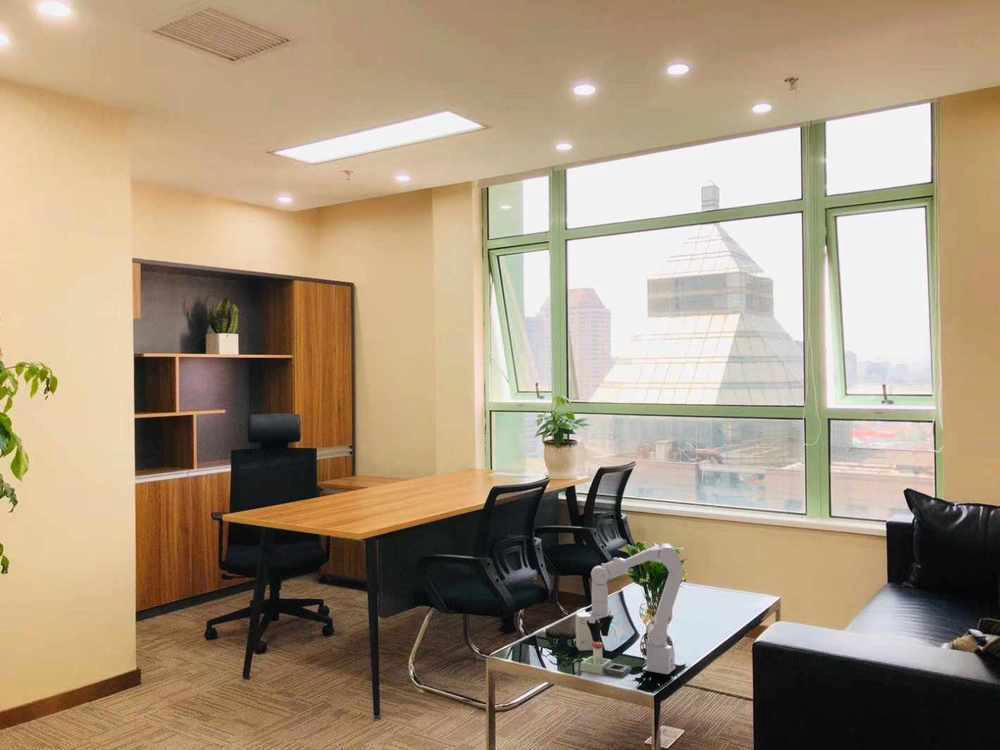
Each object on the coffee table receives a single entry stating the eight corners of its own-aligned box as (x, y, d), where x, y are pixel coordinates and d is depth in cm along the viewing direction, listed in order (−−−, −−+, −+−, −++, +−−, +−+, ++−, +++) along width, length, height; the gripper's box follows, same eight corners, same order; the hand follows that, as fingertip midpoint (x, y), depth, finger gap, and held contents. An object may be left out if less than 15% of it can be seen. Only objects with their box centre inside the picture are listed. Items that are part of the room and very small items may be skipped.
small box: (596, 645, 320) (595, 611, 320) (599, 650, 313) (599, 615, 314) (575, 645, 319) (575, 612, 319) (578, 650, 312) (578, 616, 313)
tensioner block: (630, 671, 288) (630, 666, 288) (622, 677, 282) (622, 671, 282) (612, 668, 292) (612, 662, 292) (603, 674, 286) (603, 668, 286)
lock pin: (605, 667, 291) (605, 642, 291) (600, 671, 288) (600, 645, 288) (595, 666, 293) (594, 640, 293) (590, 669, 290) (590, 643, 290)
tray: (611, 667, 292) (611, 659, 292) (601, 674, 286) (601, 666, 286) (591, 664, 297) (590, 656, 297) (581, 670, 290) (581, 662, 290)
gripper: (597, 594, 302) (598, 632, 301) (580, 603, 289) (581, 642, 289) (615, 597, 298) (616, 634, 298) (599, 605, 286) (599, 645, 285)
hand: (600, 638), depth 293 cm, fingers open, 7 cm apart
